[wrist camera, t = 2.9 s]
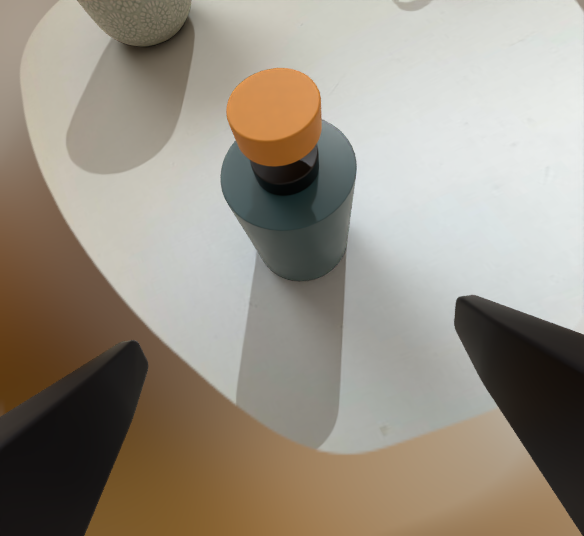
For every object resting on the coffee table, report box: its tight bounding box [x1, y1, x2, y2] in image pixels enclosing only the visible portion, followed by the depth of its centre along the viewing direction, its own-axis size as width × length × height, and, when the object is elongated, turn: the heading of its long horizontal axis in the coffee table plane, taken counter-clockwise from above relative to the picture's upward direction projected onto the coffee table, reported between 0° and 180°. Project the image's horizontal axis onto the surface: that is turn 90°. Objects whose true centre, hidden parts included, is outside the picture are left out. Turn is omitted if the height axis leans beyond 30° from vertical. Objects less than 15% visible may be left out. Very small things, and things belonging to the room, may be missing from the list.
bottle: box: [221, 119, 357, 281], centre depth 19 cm, size 7×7×10 cm
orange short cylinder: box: [227, 68, 322, 166], centre depth 12 cm, size 4×4×2 cm
